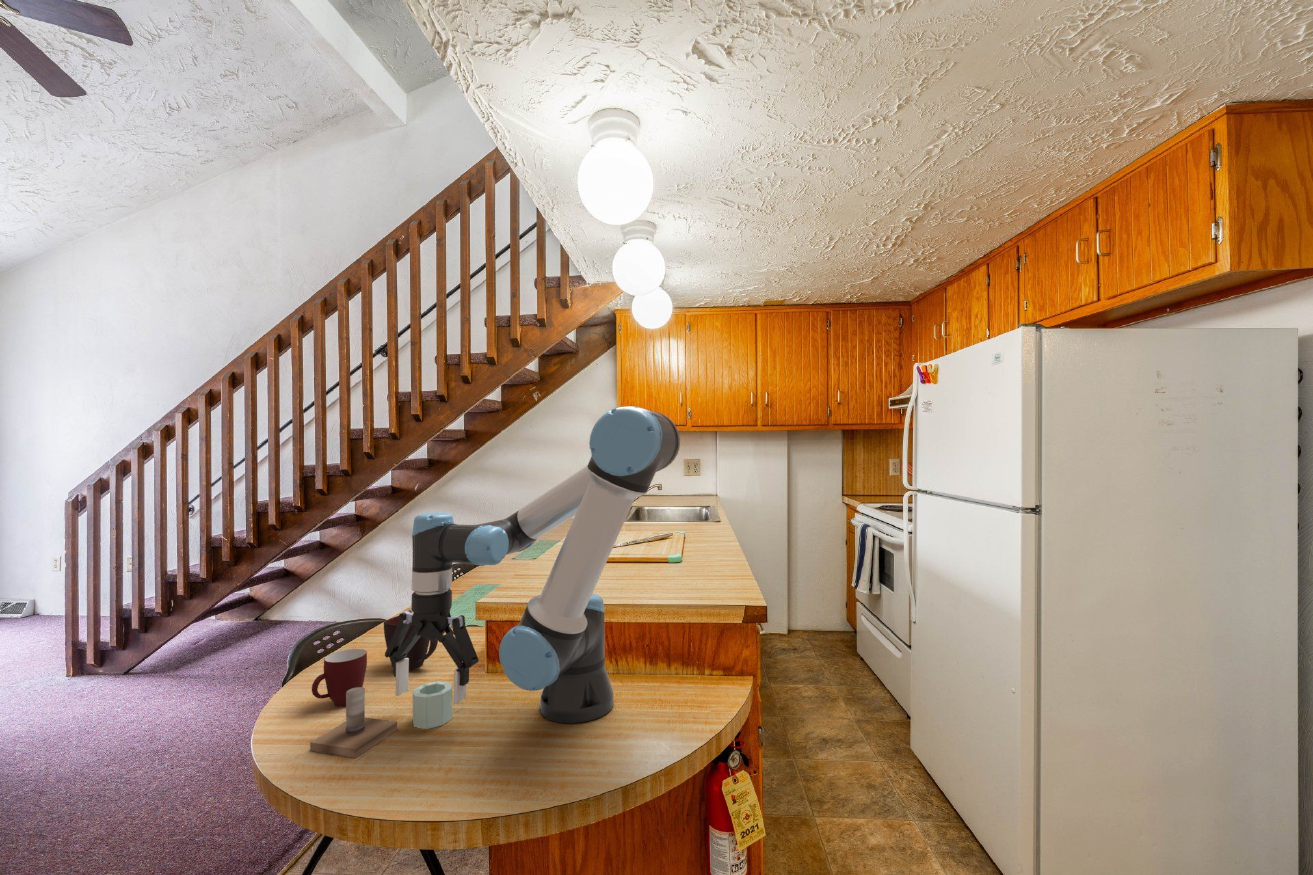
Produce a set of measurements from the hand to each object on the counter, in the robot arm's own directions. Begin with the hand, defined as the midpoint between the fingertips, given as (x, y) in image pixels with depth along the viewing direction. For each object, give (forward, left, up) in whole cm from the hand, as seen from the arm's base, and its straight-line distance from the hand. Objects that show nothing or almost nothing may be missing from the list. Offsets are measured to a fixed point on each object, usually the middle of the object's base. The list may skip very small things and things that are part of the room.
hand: (430, 697), depth 107 cm
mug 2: (+22, -22, -5) cm, 31 cm away
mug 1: (+23, -1, -5) cm, 24 cm away
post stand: (+8, +10, -4) cm, 14 cm away
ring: (-1, 0, -4) cm, 4 cm away
